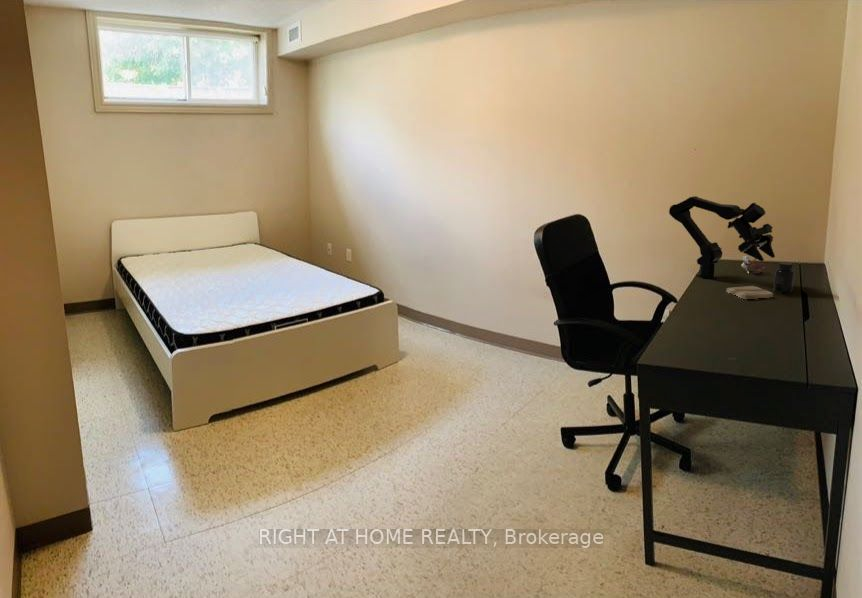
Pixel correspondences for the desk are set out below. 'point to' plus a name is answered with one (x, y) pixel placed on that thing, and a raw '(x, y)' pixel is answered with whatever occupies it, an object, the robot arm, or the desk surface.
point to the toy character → (750, 264)
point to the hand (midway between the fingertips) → (768, 259)
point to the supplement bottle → (784, 278)
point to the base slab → (749, 292)
